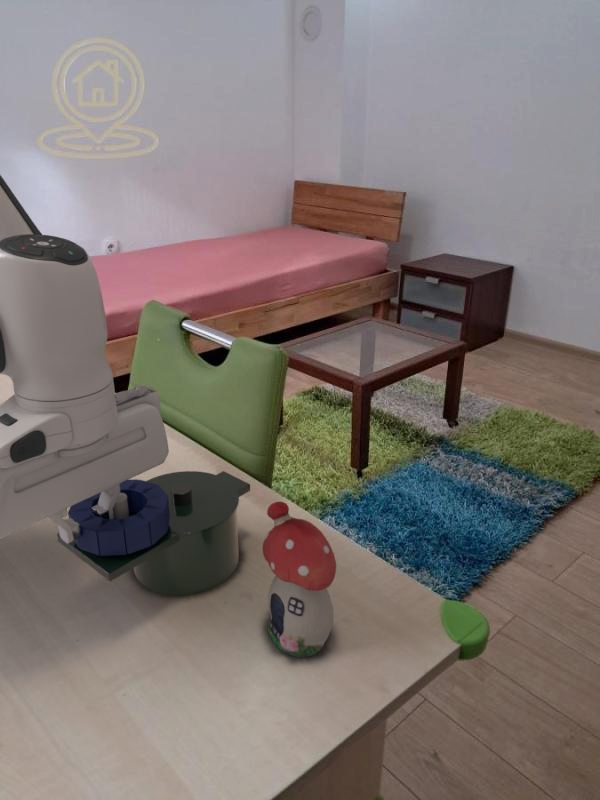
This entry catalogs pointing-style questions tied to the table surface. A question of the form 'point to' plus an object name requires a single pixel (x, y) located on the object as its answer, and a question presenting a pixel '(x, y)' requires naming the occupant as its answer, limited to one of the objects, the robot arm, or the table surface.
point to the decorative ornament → (298, 583)
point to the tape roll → (124, 521)
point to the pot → (182, 536)
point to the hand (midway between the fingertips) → (87, 530)
